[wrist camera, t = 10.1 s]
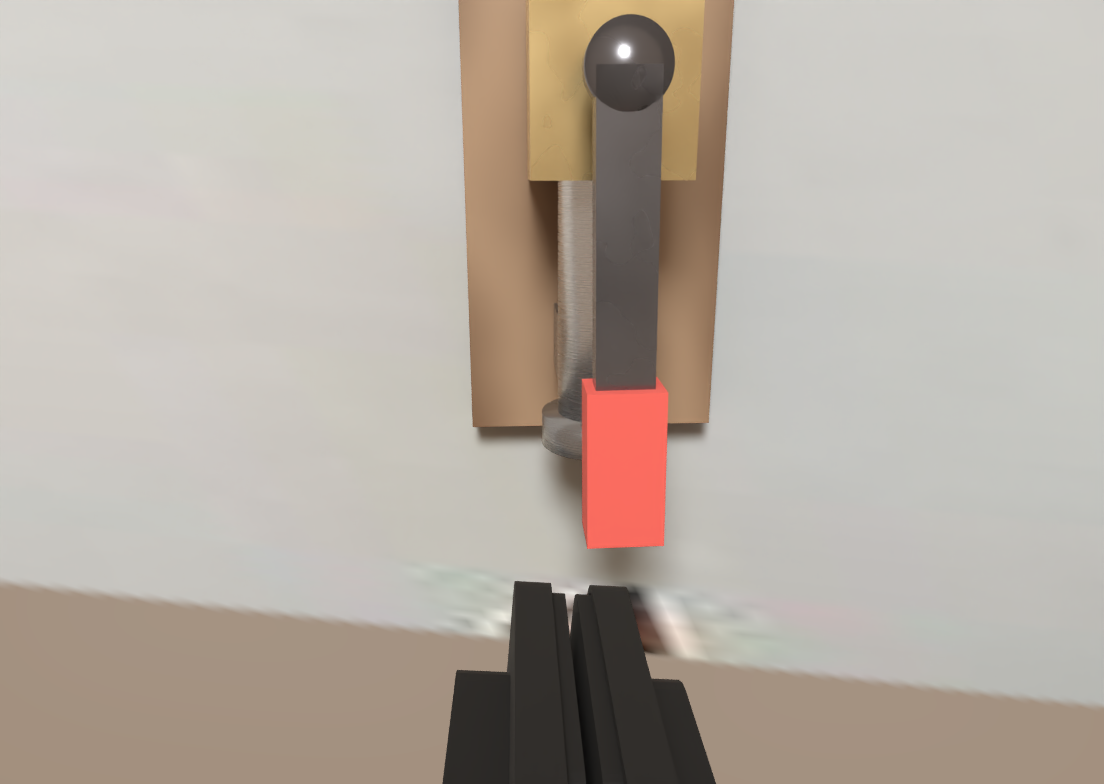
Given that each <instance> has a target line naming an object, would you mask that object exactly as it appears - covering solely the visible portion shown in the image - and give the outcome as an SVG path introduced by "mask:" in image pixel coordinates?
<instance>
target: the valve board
mask: <svg viewBox="0 0 1104 784" xmlns="http://www.w3.org/2000/svg"><path fill="white" fill-rule="evenodd" d="M733 9H734V0H459V29H460V59H461V89H462V119H463V148H464V178H465V208H466V238H467V268H468V298H469V327H470V357H471V387H472V417H473V427H495V426H542V443H543V445H544V446H545V447H546V448H547V449H548V450H550V451H551V452H553V453H555V454H558V455H560V456H564V457H567V458H572V459H577V460H582V379H592V99H591V97H590V96H589V94H588V93H587V90H586V88H585V86H584V82H583V78H582V60H583V56H584V53H585V50H586V48H587V46H588V44H589V42H590V40H591V39H592V37H593V35H594V34H595V33H596V31H597V30H598V29H599V28H600V27H601V26H602V25H603V24H604V23H606V22H607V21H609V20H610V19H612V18H614V17H617V16H620V15H625V14H637V15H642V16H645V17H648V18H650V19H652V20H653V21H655V22H656V23H657V24H659V25H660V26H661V27H662V28H663V29H664V31H665V32H666V33H667V35H668V37H669V38H670V41H671V43H672V46H673V49H674V55H675V70H674V75H673V78H672V81H671V84H670V86H669V88H668V89H667V91H666V92H665V94H664V95H663V119H662V159H661V199H660V239H659V280H658V320H657V360H656V377H658V379H659V380H660V382H661V383H662V384H663V386H664V387H665V389H666V390H667V392H668V422H667V423H709V406H710V390H711V373H712V357H713V340H714V323H715V307H716V290H717V274H718V257H719V241H720V224H721V208H722V191H723V175H724V158H725V142H726V125H727V108H728V92H729V75H730V59H731V42H732V26H733Z"/></svg>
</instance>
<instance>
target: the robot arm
mask: <svg viewBox="0 0 1104 784" xmlns="http://www.w3.org/2000/svg"><path fill="white" fill-rule="evenodd" d="M443 784H716V782H715V779H714V776H713V773H712V770H711V767H710V764H709V761H708V758H707V755H706V752H705V749H704V746H703V743H702V740H701V737H700V733H699V730H698V727H697V724H696V721H695V718H694V715H693V712H692V709H691V705H690V702H689V699H688V696H687V693H686V690H685V688H684V686H683V683H682V682H681V681H679V680H669V679H651V676H650V672H649V668H648V665H647V661H646V657H645V653H644V650H643V646H642V642H641V638H640V634H639V631H638V627H637V623H636V619H635V615H634V612H633V608H632V604H631V600H630V597H629V593H628V590H627V588H626V587H616V586H597V585H590V586H589V589H588V594H587V595H581V594H576V595H575V598H574V605H573V614H572V623H571V633H570V634H569V625H568V616H567V607H566V599H565V594H562V593H552V587H551V583H541V582H522V581H515V583H514V593H513V605H512V617H511V630H510V642H509V654H508V667H507V672H490V671H468V670H457V672H456V678H455V686H454V695H453V703H452V711H451V719H450V727H449V735H448V744H447V752H446V760H445V768H444V776H443Z"/></svg>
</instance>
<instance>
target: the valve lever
mask: <svg viewBox="0 0 1104 784" xmlns="http://www.w3.org/2000/svg"><path fill="white" fill-rule="evenodd" d="M674 70H675V55H674V49H673V46H672V43H671V41H670V38H669V37H668V35H667V33H666V32H665V31H664V29H663V28H662V27H661V26H660V25H659V24H657V23H656V22H655V21H653V20H652V19H650V18H648V17H645V16H642V15H637V14H625V15H620V16H617V17H614V18H612V19H610V20H609V21H607V22H606V23H604V24H603V25H602V26H601V27H600V28H599V29H598V30H597V31H596V33H595V34H594V35H593V37H592V39H591V40H590V42H589V44H588V46H587V48H586V50H585V53H584V56H583V60H582V78H583V82H584V86H585V88H586V90H587V93H588V94H589V96H590V97H591V99H592V379H582V523H583V528H584V534H585V539H586V544H587V549H591V548H617V547H643V546H664V522H665V489H666V455H667V422H668V392H667V390H666V389H665V387H664V386H663V384H662V383H661V382H660V380H659V379H658V377H656V360H657V320H658V280H659V239H660V199H661V159H662V119H663V95H664V94H665V92H666V91H667V89H668V88H669V86H670V84H671V81H672V78H673V75H674Z"/></svg>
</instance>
